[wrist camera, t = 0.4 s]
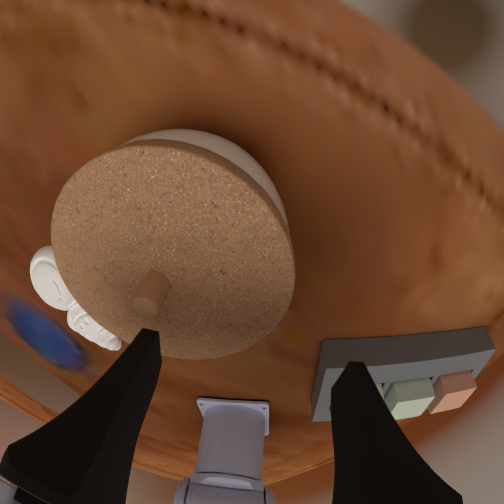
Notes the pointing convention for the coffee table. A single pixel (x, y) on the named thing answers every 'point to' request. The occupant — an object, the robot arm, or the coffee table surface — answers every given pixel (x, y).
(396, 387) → the sage key
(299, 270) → the coffee table surface
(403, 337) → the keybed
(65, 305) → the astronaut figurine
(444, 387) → the pink block
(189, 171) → the lidded jar
